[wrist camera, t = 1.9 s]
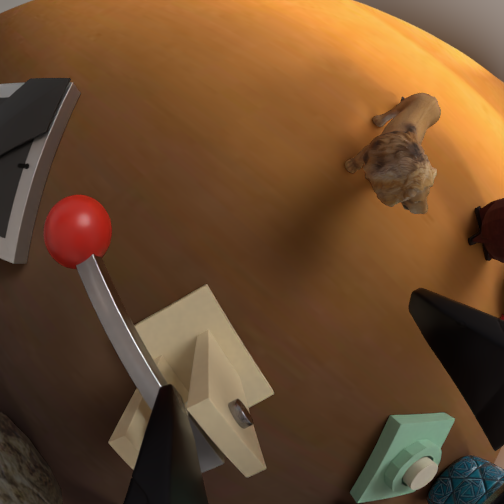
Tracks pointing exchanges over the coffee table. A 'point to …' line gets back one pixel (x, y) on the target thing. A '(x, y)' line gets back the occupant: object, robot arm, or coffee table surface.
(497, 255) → the mate gourd
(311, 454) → the coffee table surface
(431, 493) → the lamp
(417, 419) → the button block
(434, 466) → the button
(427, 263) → the coffee table surface
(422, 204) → the lion figurine
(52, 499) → the vase
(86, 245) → the lever
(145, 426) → the bracket
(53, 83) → the picture frame
